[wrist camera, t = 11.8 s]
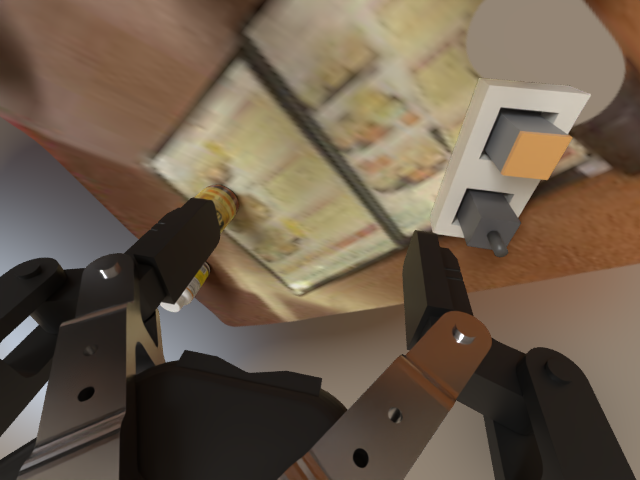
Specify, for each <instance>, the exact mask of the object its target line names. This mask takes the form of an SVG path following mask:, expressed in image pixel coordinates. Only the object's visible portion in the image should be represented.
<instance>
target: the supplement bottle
mask: <svg viewBox="0 0 640 480" xmlns="http://www.w3.org/2000/svg"><path fill="white" fill-rule="evenodd" d="M209 273H210V268H209V266H208V264H207V263H206V262H205V263H204V264H203V266H202V267H201V268H200V270H199V271H198V273H197V274H196V275H195V277H194V278H193V280H192V281H191V282H190V284H189V285H188V286H187V288H186V289H185V291H184V292H183V293H182V295H181V296H180V298H179V299H178V300H177V302H176V303H175V305H173V304H168V303H163V302H161V304H160V305H161V306H162V307H163V308H164V309H166V310H168V311H171V312H178V311H180V309H181V308H182V307H183V305H187V304H189V303H190V302H191V301H192V300H193V298H194V296H195V295H196V293H197V292H198V290H199V289H200V287H201V286H202V284H203V283H204V281H205V280H206V278H207V277H208V275H209Z"/></svg>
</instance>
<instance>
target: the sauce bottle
mask: <svg viewBox="0 0 640 480" xmlns="http://www.w3.org/2000/svg"><path fill="white" fill-rule="evenodd" d="M194 198H201V199H208V200H212V201H213V202H214V204H215V208H216V213H217V218H218V222H219V227H220V233H221V232H222V231H223V230H224V229H225V227H226V226H227V225H228V224H229V223H230V221H231V220H232V219H233V218H234V216H235V214H236V213H237V211H238V208H239V203H238V200H237V198H236V196H235V194H234V193H233V192H232V191H231V190H229V189H228V188H226V187H224V186H222V185H212V186H209V187H207V188H205V189H203V190H202V191H201V192H200V193H199V194H198V195H196V196H195V197H194Z"/></svg>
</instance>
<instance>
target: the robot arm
mask: <svg viewBox="0 0 640 480" xmlns="http://www.w3.org/2000/svg"><path fill="white" fill-rule="evenodd" d="M219 240H220V227H219V222H218V218H217V213H216V208H215V204H214V202H213V201H212V200H208V199H201V198H194V197H193V198H191V199H190V200H189V201H187V202H186V203H185V204H184V205H183V206H182V207H181V208H177V209H175V210H173V211H171V212H169V213H167V214H166V215H165V216H164V217H163V218H162V219H161V220H160V221H158V224H157V223H156V224H155V225H154V226H153V227H152V228H151V230H149V231H148V232H147V233H146V234H144V235H143V236H142V237H141V238H140V239H139V240H138V241H137V242H136V243H135V244H134V245H133V246H131V248H129V249H128V250H127V251H126V252H125V253H124V254H122V253H117V254H109V255H106V256H103V257H100V258H98V259H96V260H95V261H93V262H91V263H90V264H89V265H88V266H87V267H86V268H80V269H67V270H63V269H62V267H61V266H60V265H59V263H58V262H57V261H56V260H55V259H53V258H37V259H33V260H29V261H26V262H23V263H21V264H19V265H17V266H15V267H14V268H12V269H10V270H9V271H8V272H6V273H5V274H4V275H2V276H1V277H0V343H1V342H2V340H3V339H4V338H5V337H6V336H8V335H9V334H10V333H11V332H12V331H13V330H14V329H15V328H16V327H17V326H18V325H19V324H21V323H22V322H23V321H24V320H25V319H26V318H27V317H28V316H29V315H30V316H31V317H32V318H33V319H34V320H35V321H36V322H37V323H38V324H39V325H38V326H37V327H36V328H35V329H34V330H33V331H32V332H31V333H30V334H29V335H28V336H27V337H26V338H25V339H24V340H23V341H22V342H21V343H20V344H19V345H18V346H17V347H16V348H15V349H14V350H13V351H12V352H11V353H9V355H7V356H6V358H4V359H3V360H1V359H0V437H1V435H2V434H3V433H4V432H5V431H6V430H7V428H8V427H9V426H10V425H11V424H12V422H13V421H14V420H15V419H16V418H17V417H18V415H19V414H20V413H21V412H22V411H23V409H24V408H25V407H26V406H27V405H28V403H29V402H30V401H31V400H32V399H33V398H34V396H35V395H36V394H37V393H38V392H39V391H40V389H41V388H42V387H43V386H44V385H45V383H46V382H47V381H48V380H49V381H48V386H47V391H46V395H45V401H44V405H43V411H42V415H41V420H40V425H39V430H38V435H37V437H36V438H35V439H33V440H31V441H30V442H28V443H27V444H25V445H23V446H22V447H20V448H19V449H17V450H15V451H14V452H12V453H10V454H9V455H7V456H6V457H4V458H2V459H1V460H0V480H403V479H404V478H405V476H406V475H407V473H408V472H409V471H410V469H411V468H412V466H413V465H414V463H415V462H416V460H417V458H418V457H419V456H420V454H421V453H422V451H423V450H424V448H425V447H426V445H427V444H428V442H429V440H430V439H431V438H432V436H433V435H434V434H435V432H436V431H437V429H438V427H439V426H440V425H441V423H442V422H443V420H444V419H445V417H446V416H447V414H448V412H449V411H450V410H451V408H452V407H453V405H454V403H455V402H456V400H457V401H459V402H461V403H462V404H464V405H466V406H468V407H470V408H472V409H474V410H475V411H477V412H479V413H481V414H483V415H484V421H485V427H486V432H487V438H488V443H489V449H490V454H491V460H492V465H493V471H494V476H495V480H636V478H635V476H634V474H633V472H632V470H631V468H630V466H629V464H628V462H627V460H626V458H625V456H624V453H623V452H622V449H621V447H620V445H619V443H618V441H617V439H616V437H615V435H614V433H613V431H612V429H611V427H610V425H609V423H608V421H607V418H606V416H605V414H604V412H603V410H602V408H601V406H600V404H599V402H598V400H597V398H596V396H595V394H594V391H593V389H592V387H591V385H590V383H589V381H588V379H587V378H586V376H585V375H584V373H583V372H582V370H581V369H580V368H579V367H578V366H577V365H576V364H575V363H574V362H573V361H571V360H570V359H569V358H567V357H566V356H564V355H563V354H561V353H559V352H557V351H554V350H551V349H548V348H543V347H537V348H533V349H531V350H530V351H529V352H528V353H527V354H525V353H522V352H520V351H518V350H516V349H513V348H511V347H509V346H506V345H504V344H502V343H500V342H498V341H496V340H495V339H493V338H491V335H490V333H489V331H488V329H487V328H486V327H485V325H484V324H483V323H482V322H481V321H479V320H478V319H477V318H475V317H474V316H473V313H472V309H471V306H470V302H469V299H468V295H467V292H466V288H465V285H464V281H463V277H462V274H461V272H460V267H459V263H458V260H457V258H456V257H455V256H454V255H453V253H452V252H451V251H450V250H449V249H448V248H441V247H440V246H439V242H438V237H437V234H436V233H431V232H424V231H418V230H415V231H414V233H413V236H412V239H411V242H410V245H409V248H408V251H407V254H406V257H405V261H404V265H403V292H404V308H405V324H406V341H407V350H410V351H409V352H408V353H407V354H406V355H403V354H402V355H400V356H399V357H398V358H397V359H396V360H395V361H394V362H393V363H392V364H391V365H390V366H389V367H388V368H387V369H386V370H385V371H384V372H383V373H382V374H381V375H380V376H379V377H378V378H377V380H376V381H375V382H374V383H373V384H372V385H371V386H370V387H369V388H368V389H367V390H366V391H365V392H364V393H363V394H362V395H361V396H360V398H359V399H358V400H357V401H356V402H355V403H354V404H353V405H352V406H351V407H350V408H349V409H348V410H347V409H346V407H345V406H344V405H343V404H342V403H341V402H340V401H339V400H337V399H336V398H335V397H334V396H332V395H331V394H330V393H328V392H326V391H324V390H323V389H321V382H322V378H319V377H314V376H309V375H304V374H299V373H295V372H289V371H277V372H260V373H248V372H245V371H243V370H241V369H240V368H238V367H236V366H234V365H232V364H230V363H228V362H226V361H225V360H223V359H221V358H219V357H217V356H212V355H207V354H203V353H198V352H193V351H188V350H185V351H184V353H183V354H182V356H181V357H180V359H179V360H177V361H171V362H167V363H166V362H165V359H164V355H163V348H162V338H161V327H160V316H159V311H158V309H157V307H158V306H159V305H160V304H161V302H163V303H168V304H173V305H175V303H176V302H177V300H178V299H179V298H180V296H181V295H182V293H183V292H184V291H185V289H186V288H187V286H188V285H189V284H190V282H191V281H192V280H193V278H194V277H195V275H196V274H197V273H198V271H199V270H200V268H201V267H202V266H203V264H204V263H205V261H206V260H207V259H208V257H209V256H210V255H211V253H212V252H213V250H214V249H215V248H216V246H217V245H218V243H219Z"/></svg>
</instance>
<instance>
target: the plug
mask: <svg viewBox="0 0 640 480" xmlns="http://www.w3.org/2000/svg"><path fill="white" fill-rule="evenodd" d="M571 139H572V137H571V136H570V135H568V134H567V133H565V132H564V131H562V130H561V129H559V128H558V127H556V126H555V125H553V124H552V123H551V122H549V121H548V120H546V119H545V118H543V117H542V116H540V115H539V114H537V113H536V112H529V111H517V110H505V109H500V110H499V113H498V115H497V117H496V120H495V122H494V125H493V127H492V129H491V132H490V134H489V136H488V139H487V141H486V144H485V146H484V150H485V151H486V153H487V154H488V155H489V157H490V158H491V160H492V161H493V163H494V164H495V165H496V167H497V168H498V170H499V171H500V172H501V174H502V175H504V176H513V177H523V178H532V179H542V180H548V178H549V177H550V175H551V173H552V172H553V170H554V168H555V167H556V165H557V163H558V161H559V160H560V158H561V156H562V155H563V153H564V151H565V150H566V148H567V146H568V145H569V143H570V141H571Z"/></svg>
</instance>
